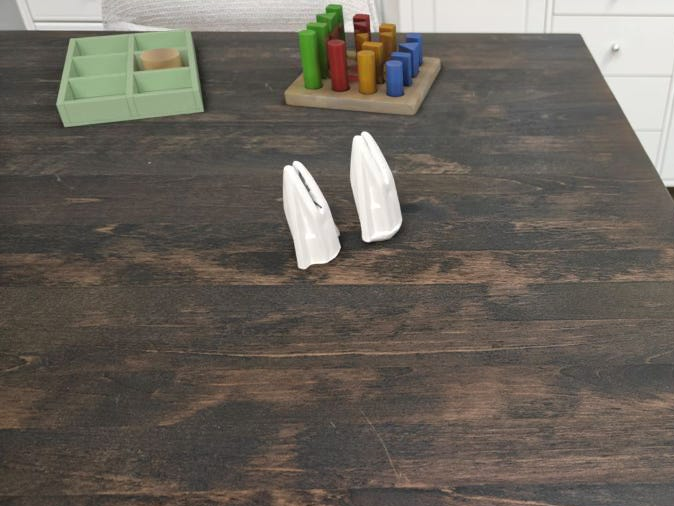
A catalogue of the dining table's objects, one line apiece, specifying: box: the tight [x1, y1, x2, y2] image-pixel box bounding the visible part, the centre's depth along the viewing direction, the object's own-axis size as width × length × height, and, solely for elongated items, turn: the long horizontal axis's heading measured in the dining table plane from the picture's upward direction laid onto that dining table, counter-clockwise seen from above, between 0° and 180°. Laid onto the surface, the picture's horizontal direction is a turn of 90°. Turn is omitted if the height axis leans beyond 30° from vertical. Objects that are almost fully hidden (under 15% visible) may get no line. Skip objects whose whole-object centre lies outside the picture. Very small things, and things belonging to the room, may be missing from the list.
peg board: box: [283, 3, 442, 116], centre depth 100 cm, size 18×17×9 cm
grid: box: [55, 28, 205, 128], centre depth 100 cm, size 16×24×3 cm
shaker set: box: [282, 131, 403, 270], centre depth 69 cm, size 12×4×11 cm, turn 121°
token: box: [140, 48, 183, 71], centre depth 101 cm, size 5×5×3 cm
